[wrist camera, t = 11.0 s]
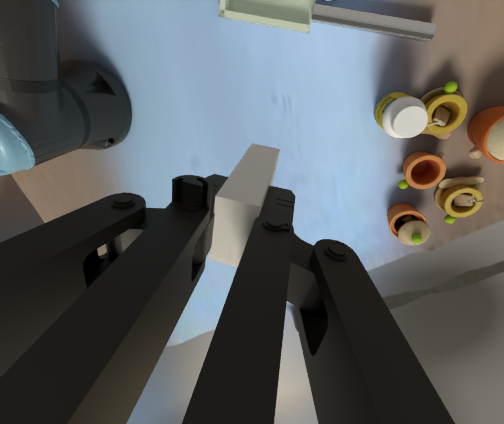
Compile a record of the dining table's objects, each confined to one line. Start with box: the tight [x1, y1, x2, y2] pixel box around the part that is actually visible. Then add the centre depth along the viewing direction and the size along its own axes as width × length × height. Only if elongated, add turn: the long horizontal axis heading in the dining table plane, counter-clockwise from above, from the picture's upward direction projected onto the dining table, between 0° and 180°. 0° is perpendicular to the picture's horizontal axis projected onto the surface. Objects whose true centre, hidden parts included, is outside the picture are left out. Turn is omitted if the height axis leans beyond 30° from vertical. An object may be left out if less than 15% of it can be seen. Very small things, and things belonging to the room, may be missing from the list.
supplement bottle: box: [374, 92, 428, 138], centre depth 39 cm, size 5×5×10 cm
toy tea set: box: [387, 81, 504, 246], centre depth 42 cm, size 26×16×10 cm, turn 177°
